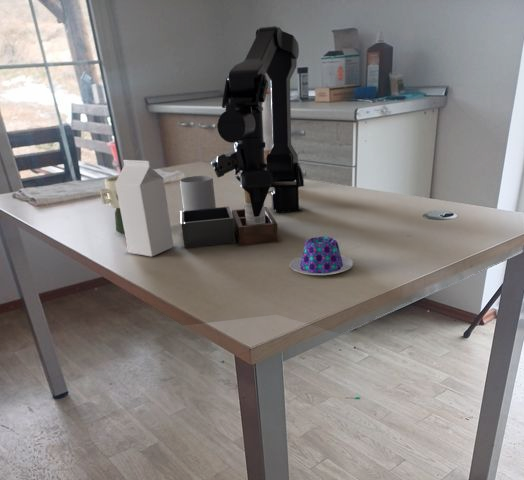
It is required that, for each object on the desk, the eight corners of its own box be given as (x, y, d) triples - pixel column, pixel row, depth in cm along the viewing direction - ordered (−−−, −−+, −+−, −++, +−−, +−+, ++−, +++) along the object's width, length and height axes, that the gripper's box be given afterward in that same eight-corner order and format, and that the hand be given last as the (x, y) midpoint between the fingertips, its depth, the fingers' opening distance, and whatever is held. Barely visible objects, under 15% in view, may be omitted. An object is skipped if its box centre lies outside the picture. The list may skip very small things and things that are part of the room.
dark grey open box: (230, 229, 126) (228, 206, 124) (235, 242, 116) (233, 218, 114) (183, 233, 125) (180, 210, 122) (184, 248, 115) (181, 223, 112)
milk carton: (152, 257, 111) (136, 164, 102) (128, 253, 114) (110, 162, 105) (174, 247, 116) (160, 157, 107) (150, 244, 119) (135, 156, 110)
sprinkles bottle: (264, 233, 121) (260, 173, 113) (268, 239, 117) (265, 178, 110) (244, 235, 120) (240, 176, 113) (248, 242, 116) (243, 181, 109)
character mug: (116, 240, 124) (104, 184, 118) (103, 234, 129) (91, 180, 122) (156, 229, 130) (147, 176, 123) (142, 225, 135) (133, 172, 128)
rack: (267, 222, 129) (266, 206, 127) (278, 241, 115) (277, 223, 113) (233, 226, 128) (231, 210, 126) (240, 245, 114) (238, 227, 112)
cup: (211, 222, 133) (206, 182, 128) (180, 222, 134) (175, 182, 130) (220, 213, 140) (216, 175, 135) (191, 214, 142) (186, 176, 137)
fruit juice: (249, 188, 166) (242, 90, 152) (275, 184, 169) (270, 88, 156) (264, 193, 158) (258, 91, 145) (290, 188, 162) (287, 88, 148)
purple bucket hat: (329, 283, 92) (329, 255, 89) (277, 271, 99) (275, 244, 96) (365, 263, 99) (366, 236, 97) (314, 253, 107) (313, 228, 104)
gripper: (208, 135, 116) (215, 206, 123) (213, 144, 99) (221, 225, 106) (258, 132, 117) (261, 202, 124) (271, 140, 100) (274, 221, 107)
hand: (254, 212), depth 115 cm, fingers closed on sprinkles bottle, 8 cm apart
